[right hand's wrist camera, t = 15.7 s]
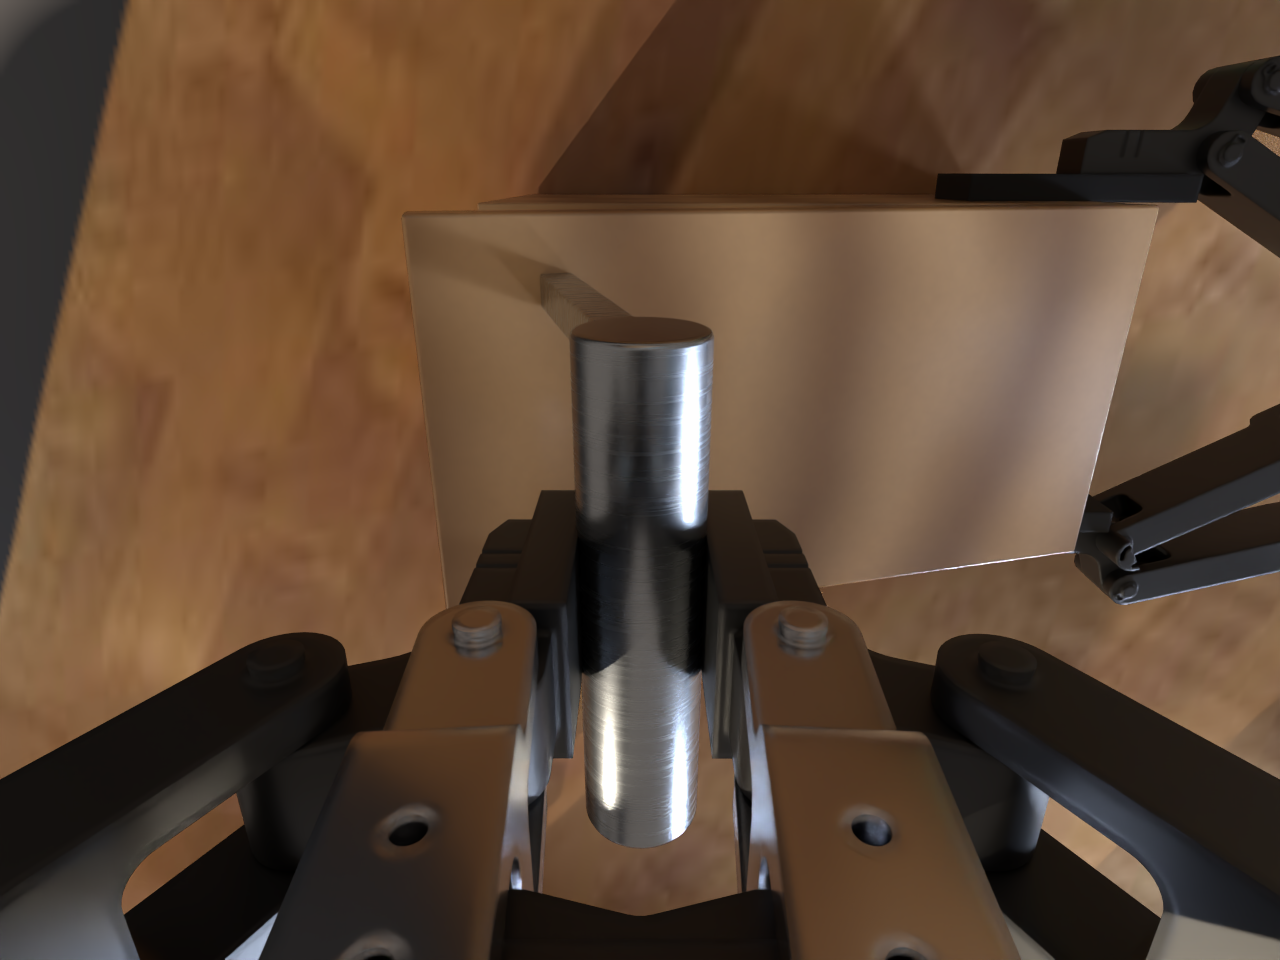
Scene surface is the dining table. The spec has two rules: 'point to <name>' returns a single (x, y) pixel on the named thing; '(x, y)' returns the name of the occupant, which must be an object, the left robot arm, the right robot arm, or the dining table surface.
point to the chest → (732, 201)
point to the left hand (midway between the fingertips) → (926, 359)
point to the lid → (758, 413)
